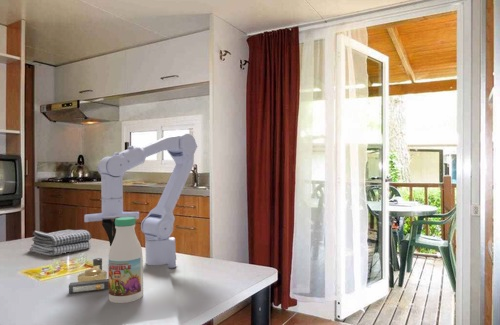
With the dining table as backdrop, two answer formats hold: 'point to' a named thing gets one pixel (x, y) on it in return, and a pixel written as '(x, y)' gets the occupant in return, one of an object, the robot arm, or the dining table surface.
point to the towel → (60, 242)
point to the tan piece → (93, 272)
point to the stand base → (88, 286)
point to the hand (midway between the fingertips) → (112, 245)
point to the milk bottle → (125, 263)
